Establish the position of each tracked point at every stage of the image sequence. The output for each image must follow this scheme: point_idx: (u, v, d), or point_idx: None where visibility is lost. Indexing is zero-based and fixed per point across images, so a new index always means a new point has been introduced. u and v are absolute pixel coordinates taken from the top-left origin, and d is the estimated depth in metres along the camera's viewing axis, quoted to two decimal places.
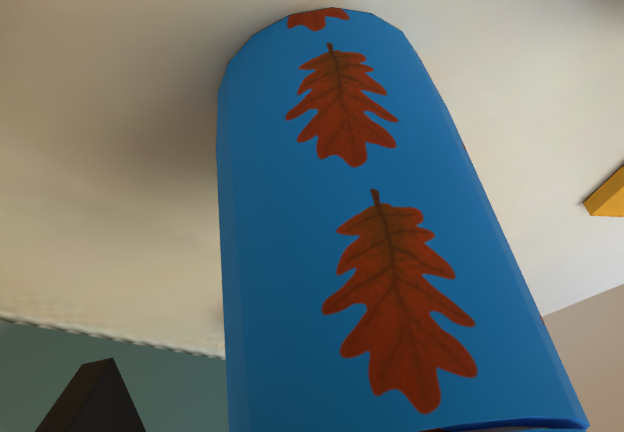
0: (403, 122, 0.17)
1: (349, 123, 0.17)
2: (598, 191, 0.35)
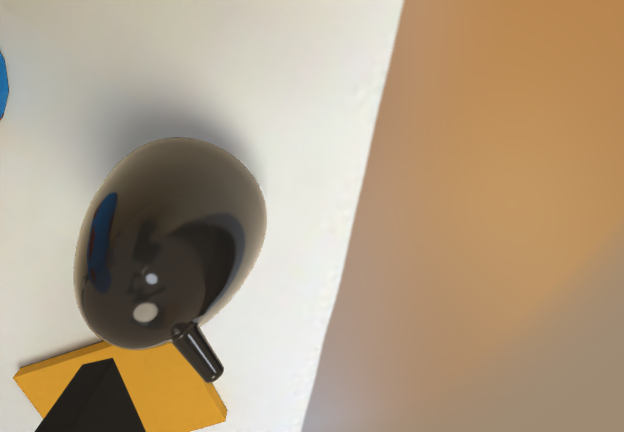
0: None
1: None
2: (36, 364, 0.40)
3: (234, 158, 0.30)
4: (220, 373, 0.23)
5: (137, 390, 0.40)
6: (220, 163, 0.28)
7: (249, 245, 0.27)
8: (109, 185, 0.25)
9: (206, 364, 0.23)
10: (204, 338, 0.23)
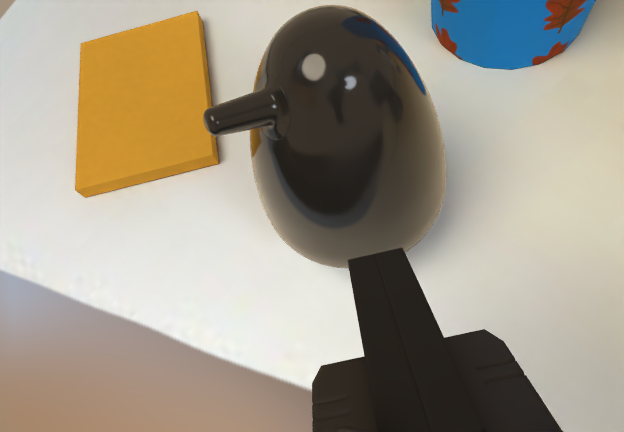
0: None
1: None
2: (203, 33, 0.40)
3: (417, 241, 0.25)
4: (213, 127, 0.18)
5: (146, 110, 0.36)
6: (423, 218, 0.24)
7: (333, 222, 0.22)
8: None
9: (230, 114, 0.18)
10: (258, 124, 0.19)
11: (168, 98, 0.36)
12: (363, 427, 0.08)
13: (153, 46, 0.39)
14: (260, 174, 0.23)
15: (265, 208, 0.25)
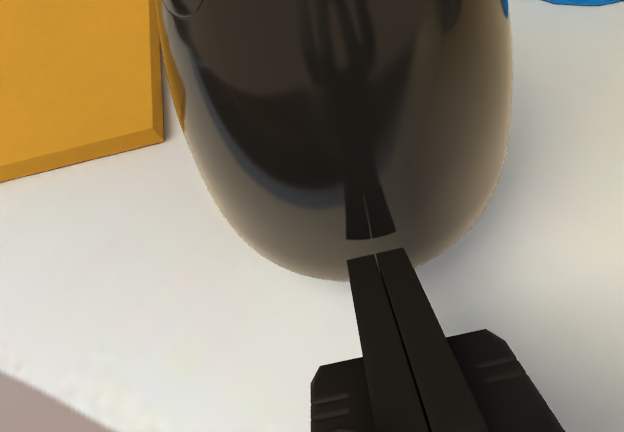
0: None
1: None
2: None
3: (461, 235, 0.15)
4: None
5: (65, 65, 0.25)
6: (476, 195, 0.14)
7: (315, 197, 0.12)
8: None
9: None
10: None
11: (97, 49, 0.25)
12: (361, 427, 0.08)
13: None
14: (180, 110, 0.12)
15: None
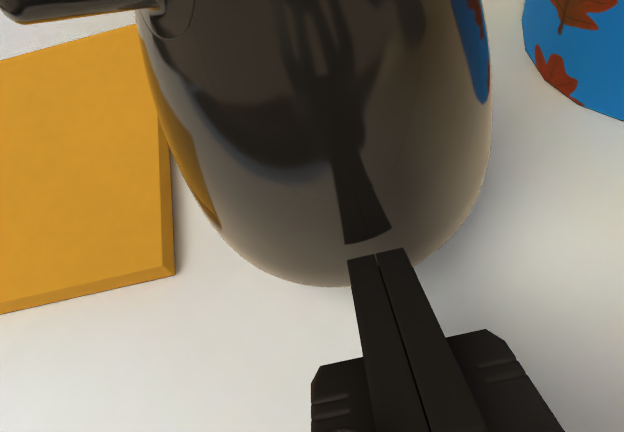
0: None
1: None
2: None
3: (456, 229, 0.15)
4: None
5: (64, 179, 0.22)
6: (468, 189, 0.14)
7: (314, 206, 0.12)
8: None
9: None
10: None
11: (99, 160, 0.23)
12: (361, 428, 0.08)
13: (85, 73, 0.25)
14: (170, 132, 0.12)
15: (196, 200, 0.15)
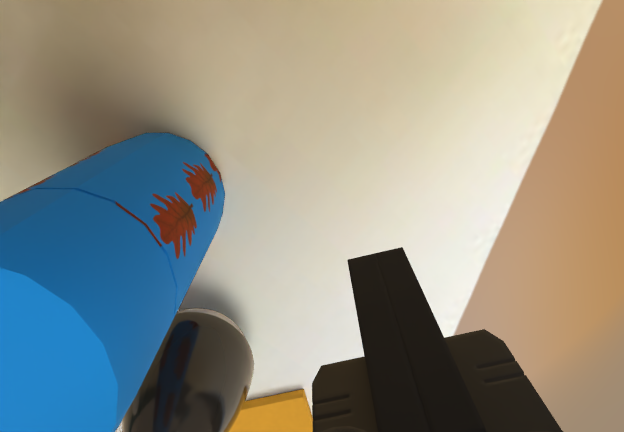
0: (210, 214, 0.35)
1: (200, 189, 0.35)
2: None
3: (229, 325, 0.42)
4: None
5: None
6: (220, 334, 0.40)
7: (240, 395, 0.39)
8: None
9: None
10: None
11: None
12: (363, 427, 0.08)
13: None
14: None
15: None
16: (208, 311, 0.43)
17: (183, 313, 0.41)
